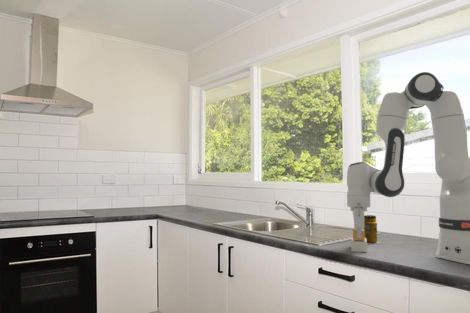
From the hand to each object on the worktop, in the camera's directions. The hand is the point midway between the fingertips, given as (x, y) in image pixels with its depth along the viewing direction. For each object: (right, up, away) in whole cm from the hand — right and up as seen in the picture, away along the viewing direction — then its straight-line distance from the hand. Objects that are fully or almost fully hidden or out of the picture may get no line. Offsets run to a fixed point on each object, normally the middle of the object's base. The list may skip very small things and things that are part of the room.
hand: (359, 237), depth 148 cm
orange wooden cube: (+1, -2, +4) cm, 4 cm away
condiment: (+12, -7, +22) cm, 25 cm away
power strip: (+2, -6, +6) cm, 8 cm away
